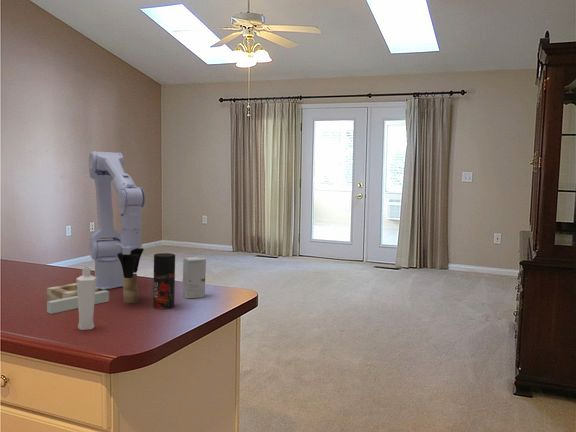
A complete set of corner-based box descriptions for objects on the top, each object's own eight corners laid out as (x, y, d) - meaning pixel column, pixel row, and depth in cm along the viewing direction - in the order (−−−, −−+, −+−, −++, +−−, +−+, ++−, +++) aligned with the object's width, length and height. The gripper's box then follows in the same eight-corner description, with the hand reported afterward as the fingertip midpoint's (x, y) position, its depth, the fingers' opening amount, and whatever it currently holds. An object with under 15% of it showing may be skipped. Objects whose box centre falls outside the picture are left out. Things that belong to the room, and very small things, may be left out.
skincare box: (187, 299, 158) (188, 260, 157) (181, 296, 162) (182, 257, 161) (205, 297, 162) (206, 258, 161) (199, 294, 166) (200, 256, 165)
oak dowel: (131, 299, 156) (130, 272, 155) (140, 301, 154) (140, 274, 153) (120, 301, 153) (119, 275, 152) (129, 304, 150) (129, 276, 150)
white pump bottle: (79, 324, 130) (79, 265, 128) (97, 324, 130) (97, 265, 129) (73, 330, 125) (73, 269, 124) (91, 330, 126) (92, 269, 124)
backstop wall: (104, 300, 154) (104, 290, 153) (108, 301, 153) (109, 291, 152) (46, 312, 139) (46, 301, 139) (51, 313, 138) (51, 302, 138)
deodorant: (178, 305, 151) (179, 254, 150) (167, 310, 146) (167, 257, 144) (160, 302, 153) (161, 252, 152) (148, 307, 148) (149, 255, 146)
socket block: (78, 295, 158) (78, 282, 158) (98, 301, 152) (98, 287, 152) (46, 301, 150) (46, 288, 149) (66, 307, 144) (66, 293, 144)
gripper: (122, 226, 158) (121, 270, 159) (111, 231, 144) (111, 280, 145) (145, 226, 159) (145, 270, 160) (137, 232, 145) (137, 280, 146)
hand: (130, 275), depth 153 cm, fingers open, 7 cm apart
